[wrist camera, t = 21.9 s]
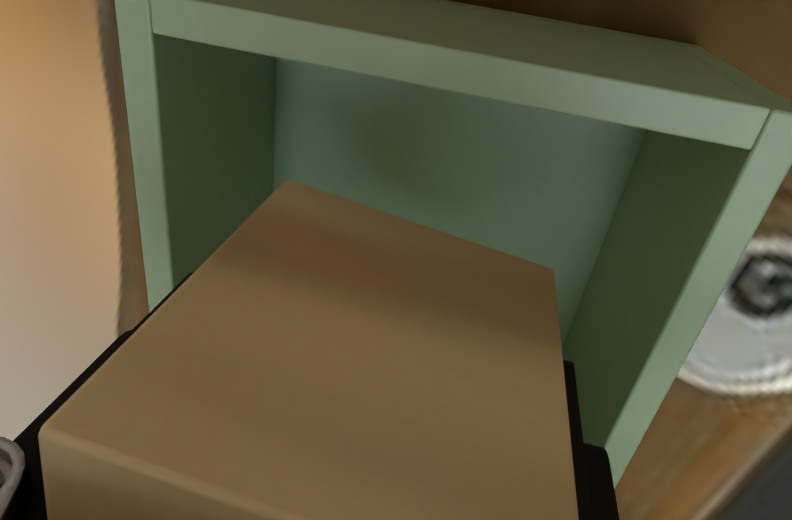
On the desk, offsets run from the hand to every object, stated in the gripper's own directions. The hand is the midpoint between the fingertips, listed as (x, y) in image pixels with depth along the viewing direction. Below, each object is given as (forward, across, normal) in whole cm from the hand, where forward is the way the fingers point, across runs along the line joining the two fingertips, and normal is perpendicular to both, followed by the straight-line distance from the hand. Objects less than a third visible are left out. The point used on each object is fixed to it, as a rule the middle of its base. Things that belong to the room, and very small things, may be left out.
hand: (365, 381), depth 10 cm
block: (+1, 0, 0) cm, 1 cm away
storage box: (+11, 0, +2) cm, 12 cm away
